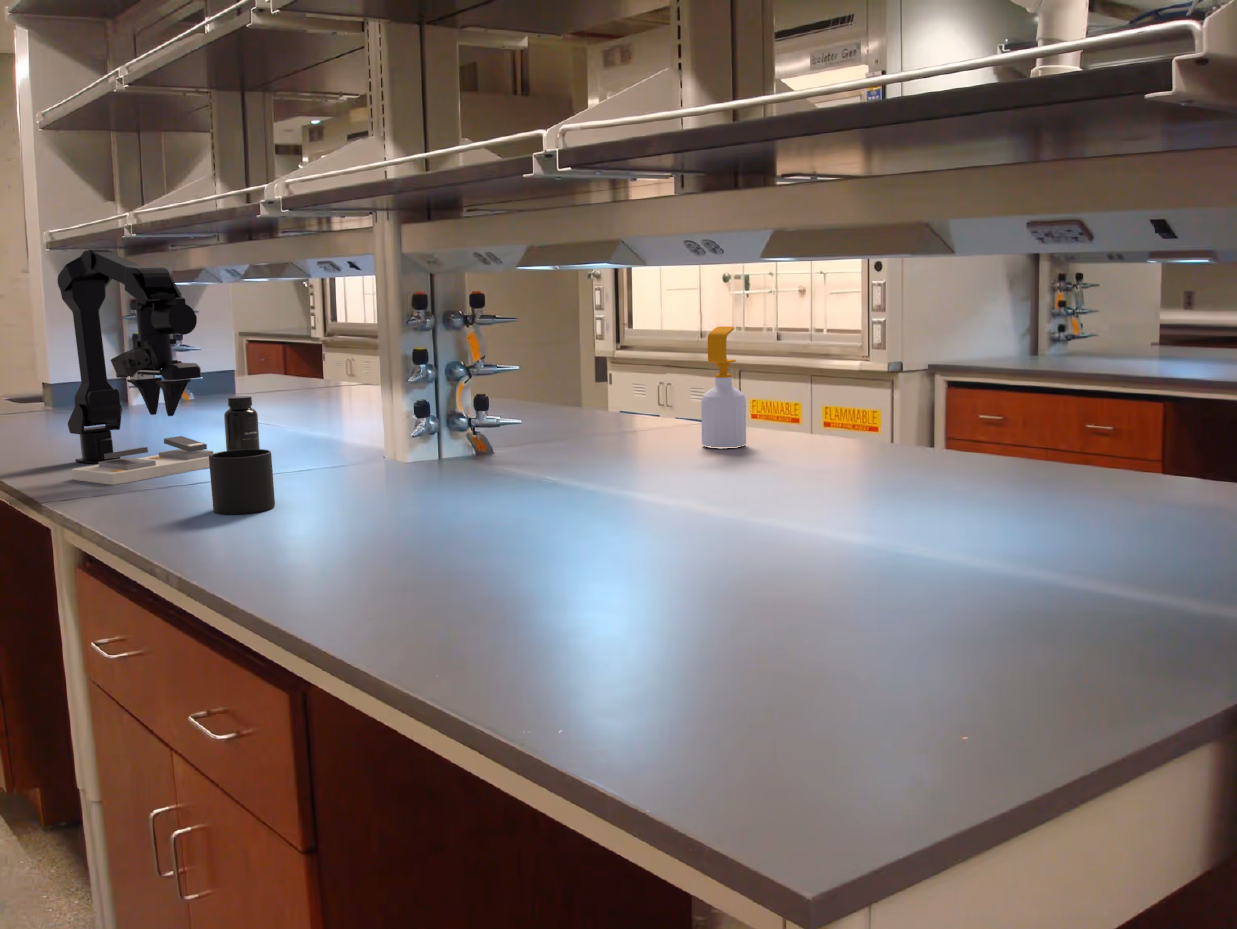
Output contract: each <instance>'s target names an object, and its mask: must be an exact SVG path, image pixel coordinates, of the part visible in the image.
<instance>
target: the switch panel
mask: <svg viewBox="0 0 1237 929" xmlns="http://www.w3.org/2000/svg"><path fill="white" fill-rule="evenodd" d="M214 453H215V452H214V451H213V450H207V449H205V450H199V451H193V452H188V451H185V450H182V449H179V448H176V449H172V450H165V451H159V452H158V454H156V455H155V454H154V455H151V456H150V455H149V456H144V457H139V458H133V457H123V458H121V457H120V458H121V459H115V460H108V461H102V462H98V464H95V465H90V466H89V465H88V466H82V467H76V468H71V477H72V478H71V479H72V480H73V481H81V482H88V483H96V484H103V485H109V486H110V485H111V486H114V485H123V484H126V483H127V484H128V483H132V482H138V481H142V480H149V479H154V478H160V477H165V476H171V475H177V474H183V473H188V472H193V471H197V470H199V471H200V470H204V468H205V469H210V465H209V455H211V454H214Z"/></svg>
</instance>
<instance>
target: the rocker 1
mask: <svg viewBox="0 0 1237 929" xmlns="http://www.w3.org/2000/svg"><path fill="white" fill-rule="evenodd" d="M148 449H149V448H148V447H147V446H146V447H144V446H142V447H141V446H140V447H136V448H135V447H134V448H129V449H126V450H121V451H113V453H107V454H104V458H105V459H109V458H115V457H120V458H121V457H126V456H127V457H129V456H132V455H140V454H146V453H149V450H148Z"/></svg>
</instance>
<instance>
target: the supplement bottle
mask: <svg viewBox="0 0 1237 929" xmlns="http://www.w3.org/2000/svg"><path fill="white" fill-rule="evenodd" d="M252 406H253V400H252V396H250V395H249V396H246V395H245V396H242V395H241V396H230V397H228V398H227V407H229V408H228V410H226V411H225V412H224V415H223V418H224V433H225V436H224V437H225V446H226V448H225V449H226V450H225V451H230V450H241V449H261V447H260V431H259V415H258V412H257V410H255V409H254V408H253V407H252Z"/></svg>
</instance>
